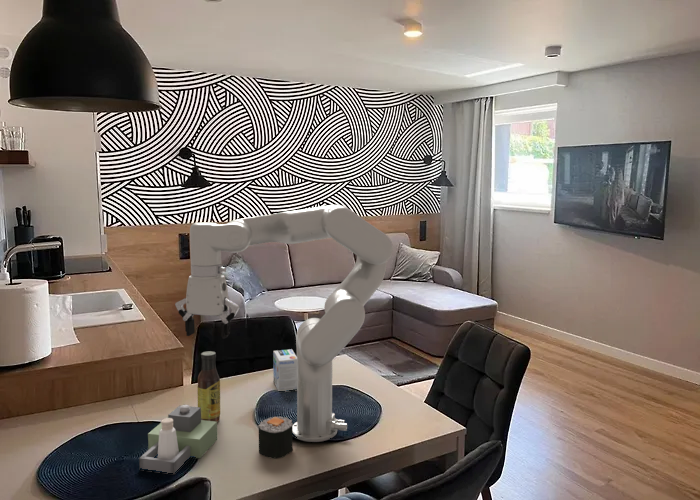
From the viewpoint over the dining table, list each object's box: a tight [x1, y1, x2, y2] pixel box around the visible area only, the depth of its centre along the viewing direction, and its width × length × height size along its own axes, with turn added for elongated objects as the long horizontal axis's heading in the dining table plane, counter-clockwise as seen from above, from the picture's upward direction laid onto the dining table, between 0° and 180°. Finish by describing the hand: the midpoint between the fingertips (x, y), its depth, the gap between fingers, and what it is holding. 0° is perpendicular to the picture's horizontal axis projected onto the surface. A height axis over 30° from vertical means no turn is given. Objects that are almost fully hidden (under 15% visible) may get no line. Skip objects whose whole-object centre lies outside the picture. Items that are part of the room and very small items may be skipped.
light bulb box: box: [272, 348, 297, 392], centre depth 183 cm, size 11×7×11 cm, turn 17°
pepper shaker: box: [157, 417, 179, 460], centre depth 134 cm, size 5×5×11 cm
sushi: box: [257, 415, 294, 459], centre depth 140 cm, size 8×8×8 cm
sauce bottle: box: [197, 350, 221, 423], centre depth 156 cm, size 7×6×20 cm
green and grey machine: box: [138, 404, 218, 475], centre depth 138 cm, size 14×18×10 cm
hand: (207, 335), depth 143 cm, fingers open, 9 cm apart
